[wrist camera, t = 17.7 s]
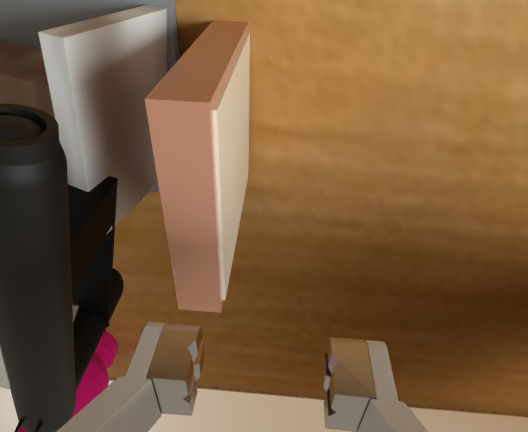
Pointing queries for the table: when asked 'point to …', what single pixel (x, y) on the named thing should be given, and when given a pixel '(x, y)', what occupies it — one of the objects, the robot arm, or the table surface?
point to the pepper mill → (94, 373)
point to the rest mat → (74, 20)
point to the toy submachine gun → (50, 270)
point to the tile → (203, 160)
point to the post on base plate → (96, 94)
